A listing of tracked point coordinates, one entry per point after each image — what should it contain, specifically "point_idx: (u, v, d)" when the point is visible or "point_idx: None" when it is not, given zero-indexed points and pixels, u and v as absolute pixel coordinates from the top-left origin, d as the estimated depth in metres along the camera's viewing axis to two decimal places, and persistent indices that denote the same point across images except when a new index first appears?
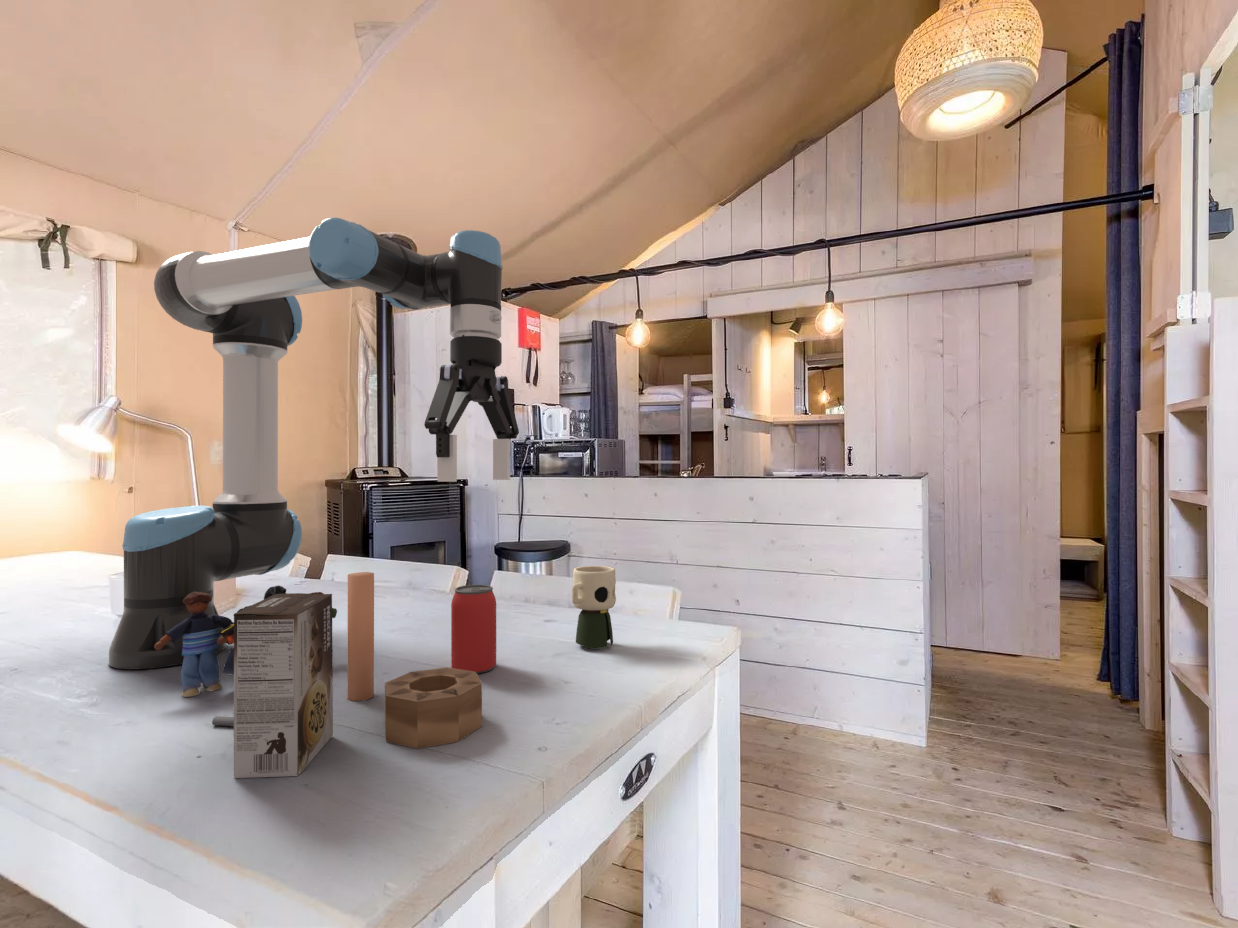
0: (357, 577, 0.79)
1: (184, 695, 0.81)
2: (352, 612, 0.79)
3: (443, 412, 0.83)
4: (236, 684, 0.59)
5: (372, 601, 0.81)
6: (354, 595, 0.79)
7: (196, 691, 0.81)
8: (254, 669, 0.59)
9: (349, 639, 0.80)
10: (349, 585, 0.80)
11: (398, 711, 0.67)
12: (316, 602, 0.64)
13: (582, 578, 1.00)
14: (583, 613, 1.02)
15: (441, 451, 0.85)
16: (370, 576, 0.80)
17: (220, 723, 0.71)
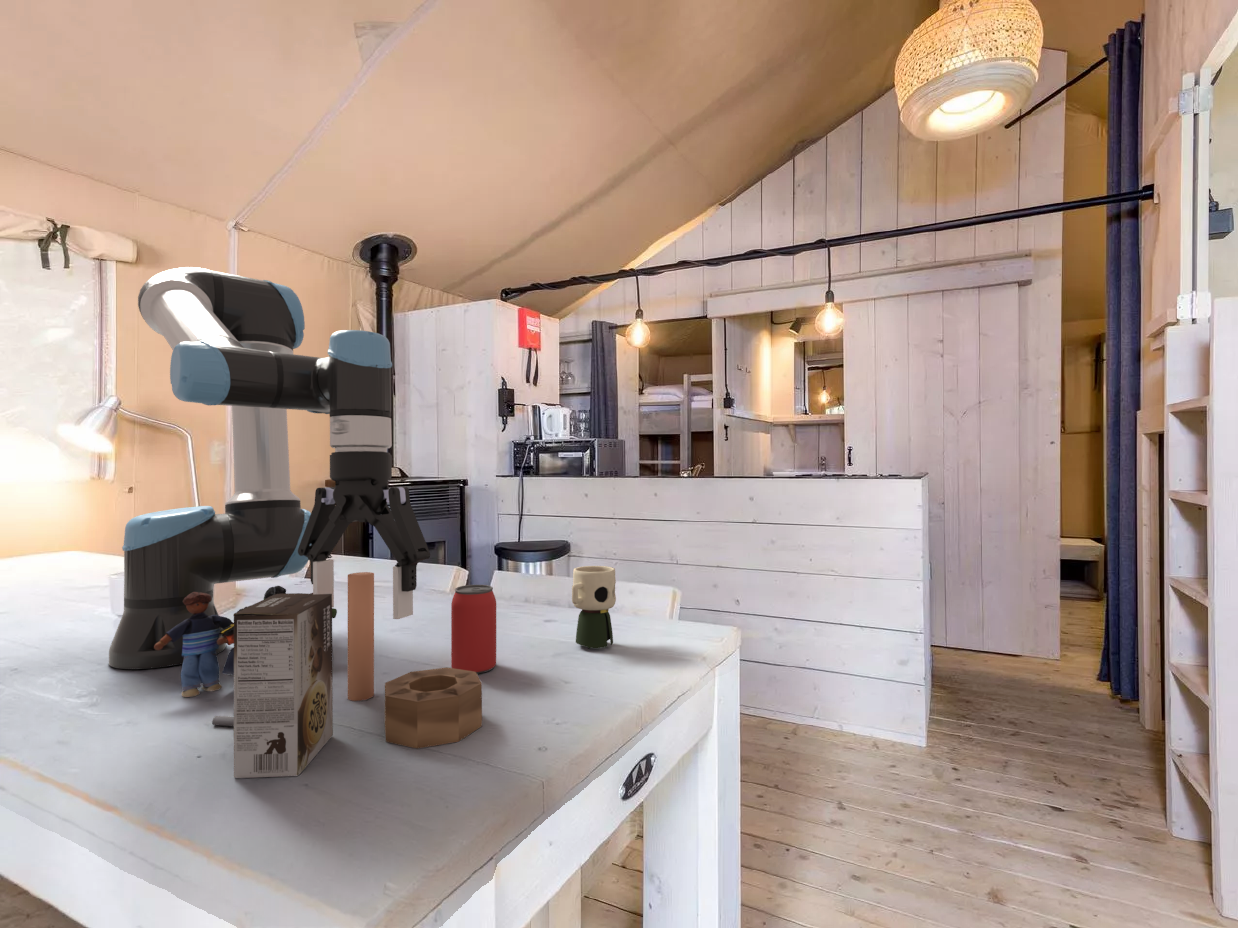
0: (357, 577, 0.79)
1: (184, 695, 0.81)
2: (352, 612, 0.79)
3: (302, 539, 0.83)
4: (236, 684, 0.59)
5: (372, 601, 0.81)
6: (354, 595, 0.79)
7: (196, 691, 0.81)
8: (254, 669, 0.59)
9: (349, 639, 0.80)
10: (349, 585, 0.80)
11: (398, 711, 0.67)
12: (316, 602, 0.64)
13: (582, 578, 1.00)
14: (583, 613, 1.02)
15: None
16: (370, 576, 0.80)
17: (220, 723, 0.71)
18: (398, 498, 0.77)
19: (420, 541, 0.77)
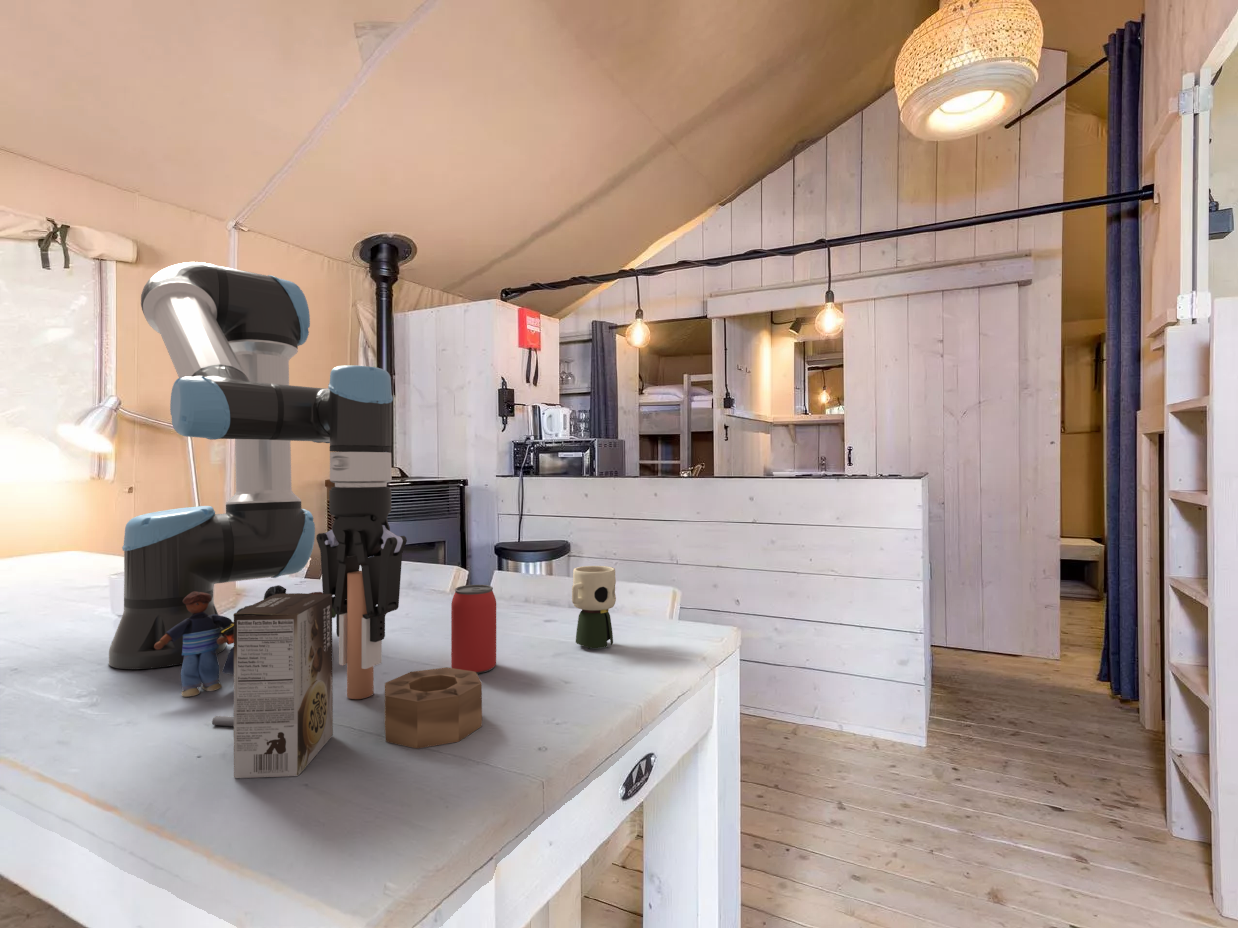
0: (357, 575, 0.79)
1: (184, 695, 0.81)
2: (352, 610, 0.79)
3: (323, 590, 0.82)
4: (236, 684, 0.59)
5: None
6: (354, 594, 0.79)
7: (196, 691, 0.81)
8: (254, 669, 0.59)
9: (349, 637, 0.80)
10: (349, 583, 0.80)
11: (398, 711, 0.67)
12: (316, 602, 0.64)
13: (582, 578, 1.00)
14: (583, 613, 1.02)
15: None
16: None
17: (220, 723, 0.71)
18: (392, 550, 0.78)
19: (394, 594, 0.79)
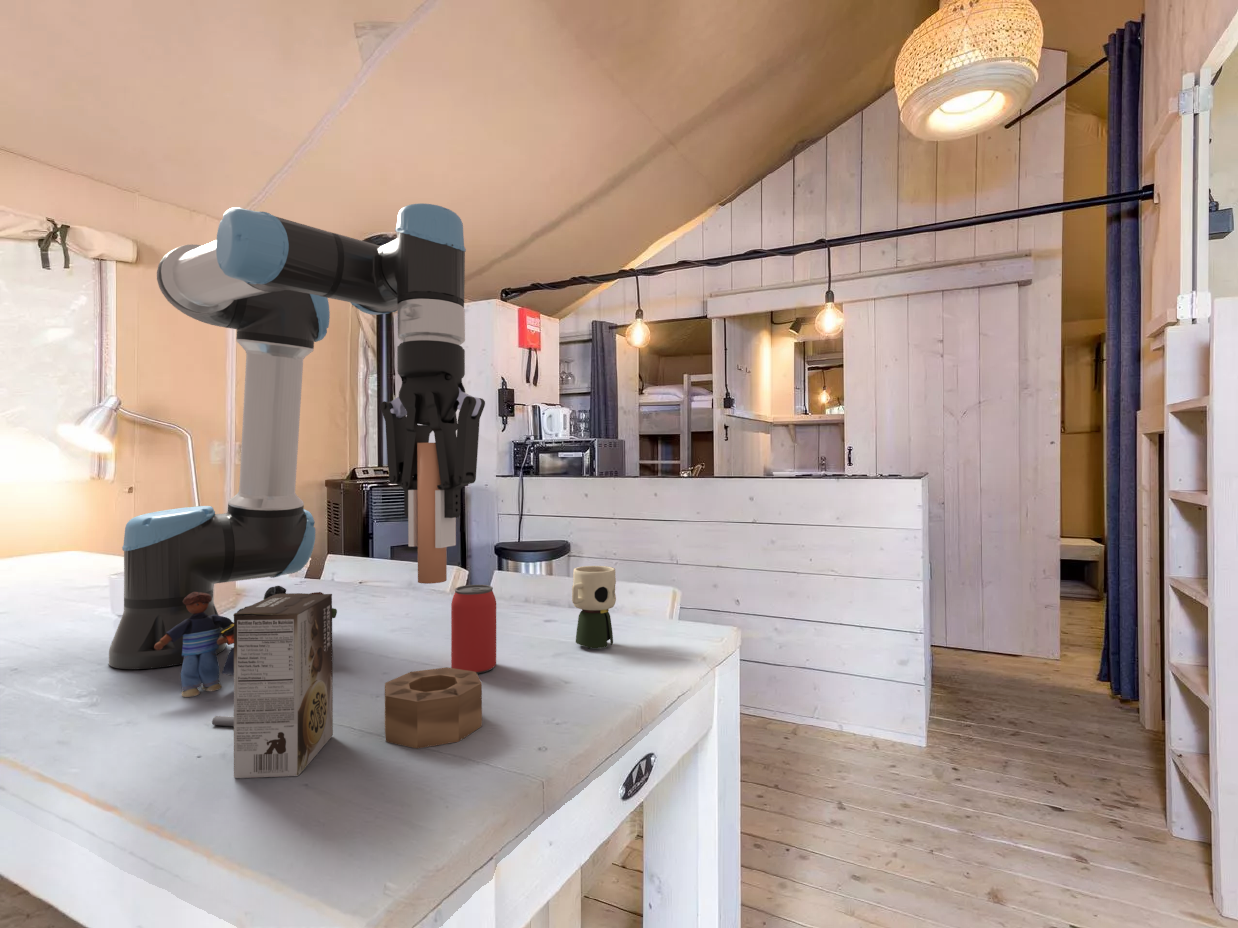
0: (429, 443, 0.70)
1: (184, 695, 0.81)
2: (424, 483, 0.70)
3: (389, 465, 0.72)
4: (236, 684, 0.59)
5: None
6: (426, 464, 0.70)
7: (196, 691, 0.81)
8: (254, 669, 0.59)
9: (420, 514, 0.70)
10: (420, 453, 0.70)
11: (398, 711, 0.67)
12: (316, 602, 0.64)
13: (582, 578, 1.00)
14: (583, 613, 1.02)
15: None
16: None
17: (220, 723, 0.71)
18: (471, 411, 0.69)
19: (472, 464, 0.70)
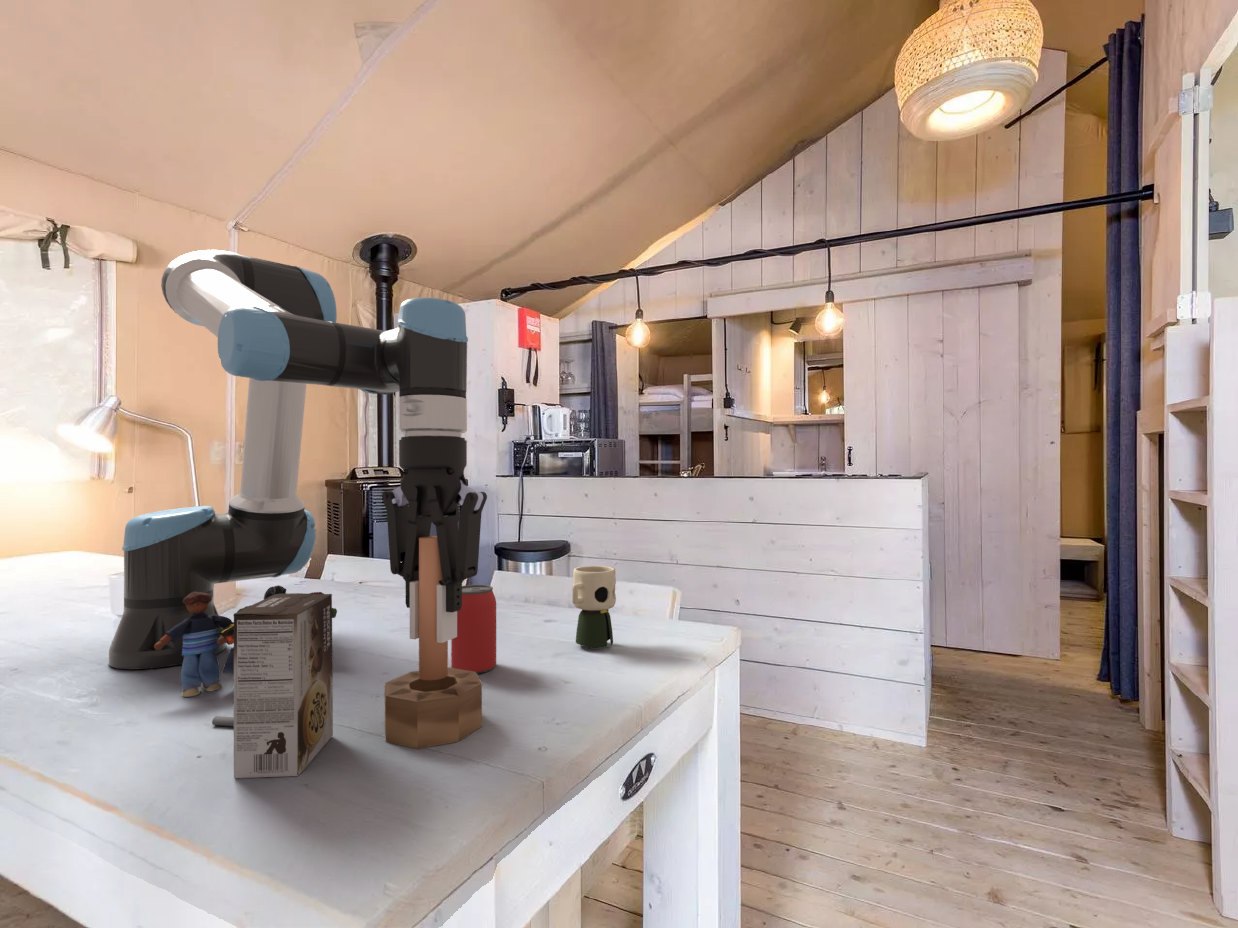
0: (431, 540, 0.70)
1: (184, 695, 0.81)
2: (425, 579, 0.70)
3: (390, 555, 0.72)
4: (236, 684, 0.59)
5: None
6: (428, 560, 0.70)
7: (196, 691, 0.81)
8: (254, 669, 0.59)
9: (421, 610, 0.70)
10: (421, 549, 0.70)
11: (398, 711, 0.67)
12: (316, 602, 0.64)
13: (582, 578, 1.00)
14: (583, 613, 1.02)
15: None
16: None
17: (220, 723, 0.71)
18: (473, 507, 0.68)
19: (473, 558, 0.70)
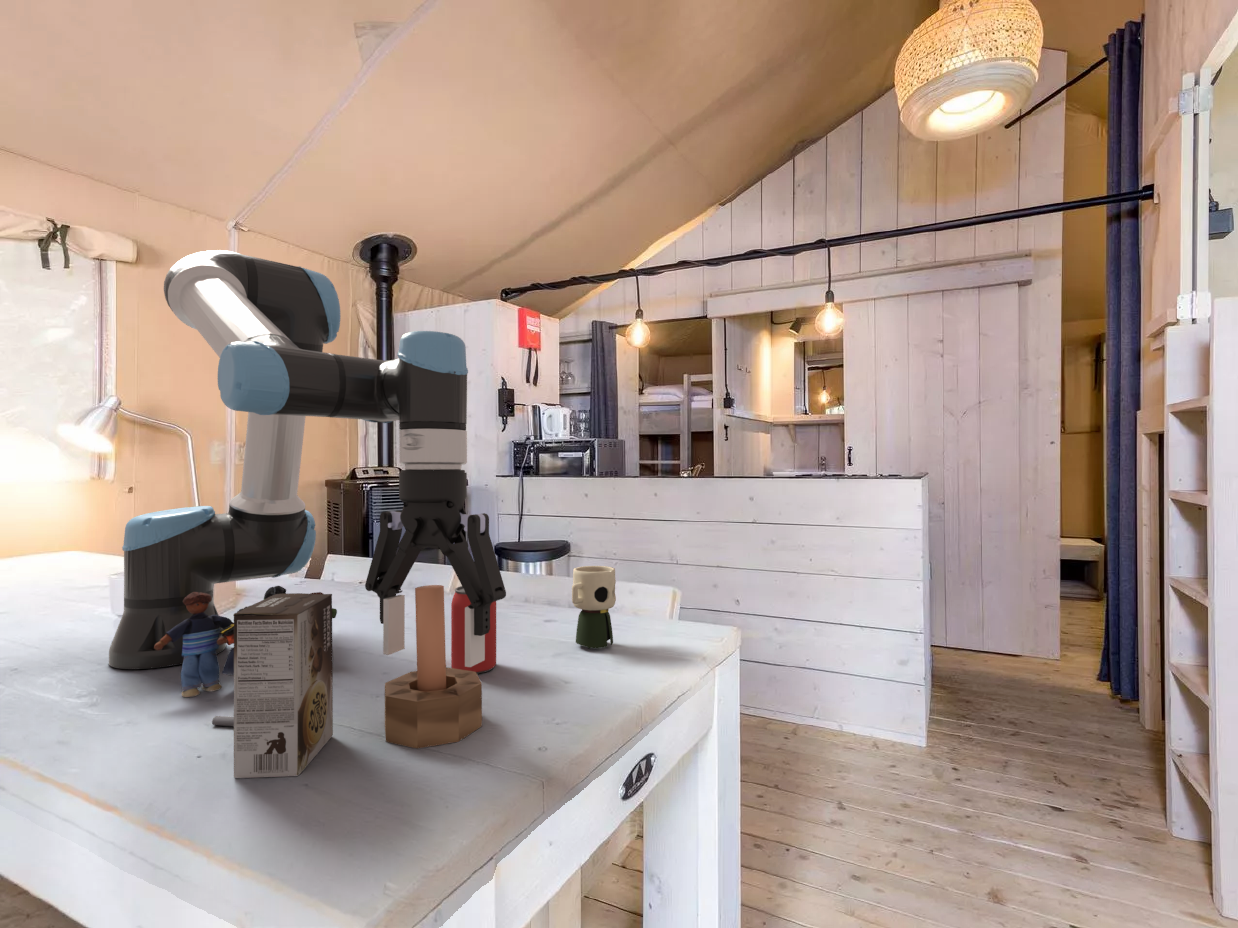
0: (427, 591, 0.70)
1: (184, 695, 0.81)
2: (422, 630, 0.70)
3: (369, 572, 0.73)
4: (236, 684, 0.59)
5: (443, 617, 0.71)
6: (424, 611, 0.70)
7: (196, 691, 0.81)
8: (254, 669, 0.59)
9: (419, 661, 0.70)
10: (418, 600, 0.70)
11: (398, 711, 0.67)
12: (316, 602, 0.64)
13: (582, 578, 1.00)
14: (583, 613, 1.02)
15: None
16: (440, 589, 0.71)
17: (220, 723, 0.71)
18: (478, 528, 0.68)
19: (497, 579, 0.68)
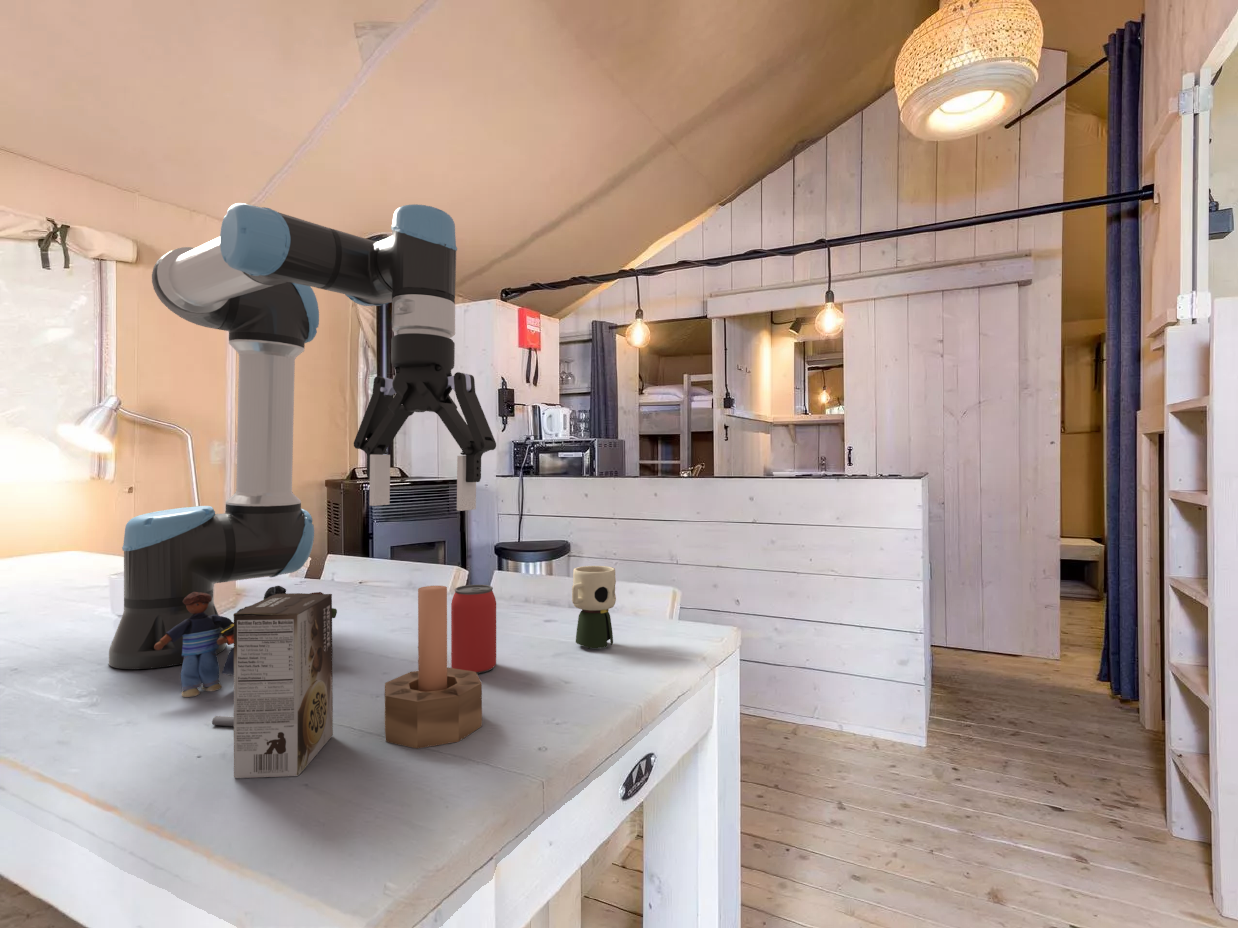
0: (430, 592, 0.70)
1: (184, 695, 0.81)
2: (424, 631, 0.70)
3: (359, 431, 0.79)
4: (236, 684, 0.59)
5: (445, 619, 0.71)
6: (427, 613, 0.70)
7: (196, 691, 0.81)
8: (254, 669, 0.59)
9: (421, 662, 0.70)
10: (420, 601, 0.70)
11: (398, 711, 0.67)
12: (316, 602, 0.64)
13: (582, 578, 1.00)
14: (583, 613, 1.02)
15: None
16: (443, 590, 0.71)
17: (220, 723, 0.71)
18: (464, 384, 0.73)
19: (486, 430, 0.73)
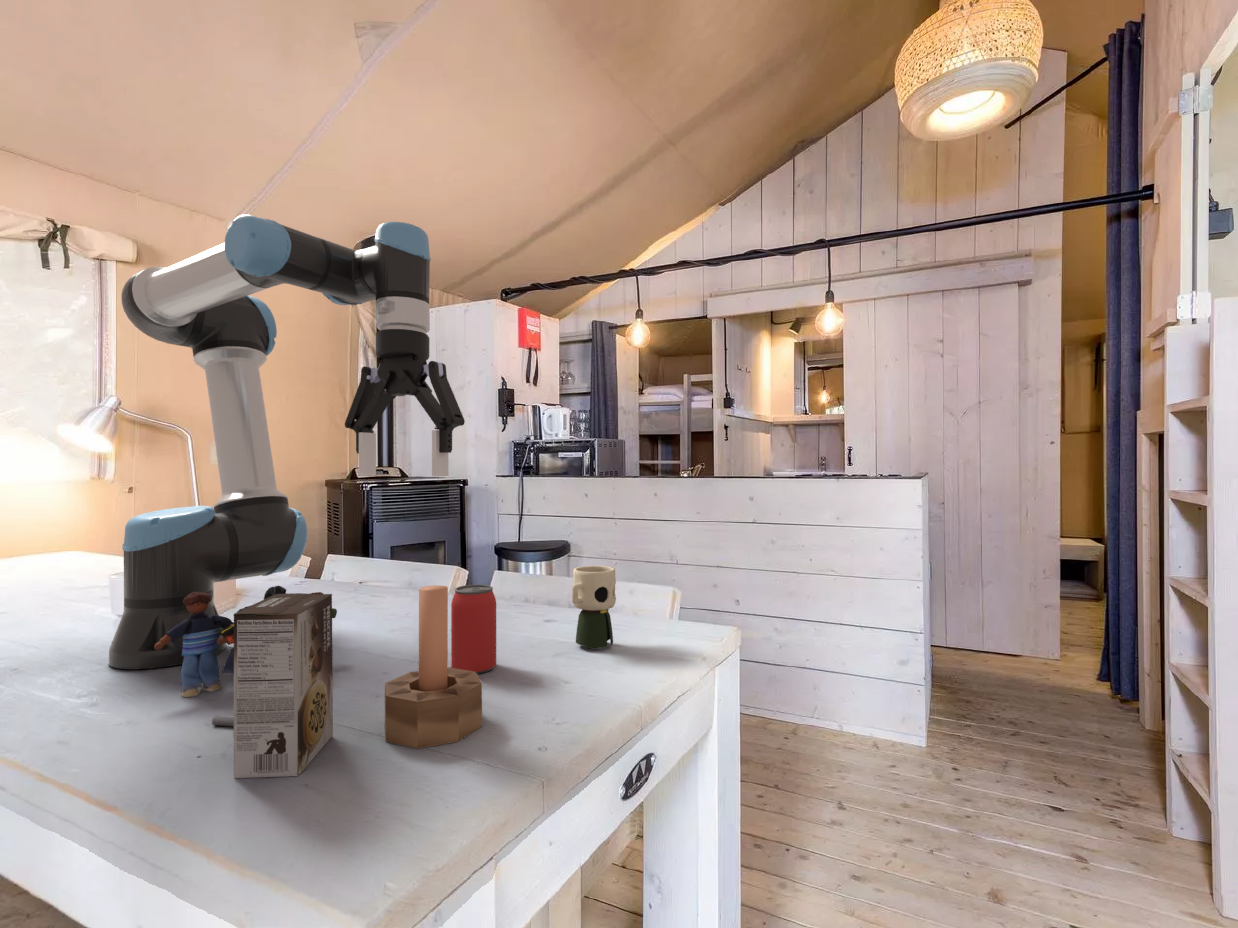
0: (431, 592, 0.70)
1: (184, 695, 0.81)
2: (425, 631, 0.70)
3: (349, 413, 0.93)
4: (236, 684, 0.59)
5: (446, 619, 0.71)
6: (428, 612, 0.70)
7: (196, 691, 0.81)
8: (254, 669, 0.59)
9: (421, 662, 0.70)
10: (421, 601, 0.70)
11: (398, 711, 0.67)
12: (316, 602, 0.64)
13: (582, 578, 1.00)
14: (583, 613, 1.02)
15: None
16: (444, 590, 0.71)
17: (220, 723, 0.71)
18: (437, 370, 0.88)
19: (456, 409, 0.88)
